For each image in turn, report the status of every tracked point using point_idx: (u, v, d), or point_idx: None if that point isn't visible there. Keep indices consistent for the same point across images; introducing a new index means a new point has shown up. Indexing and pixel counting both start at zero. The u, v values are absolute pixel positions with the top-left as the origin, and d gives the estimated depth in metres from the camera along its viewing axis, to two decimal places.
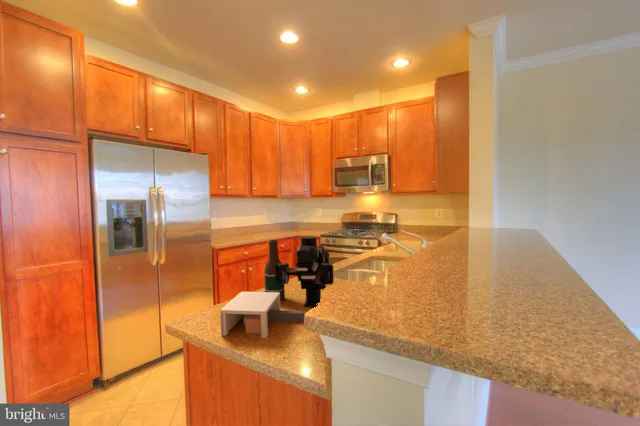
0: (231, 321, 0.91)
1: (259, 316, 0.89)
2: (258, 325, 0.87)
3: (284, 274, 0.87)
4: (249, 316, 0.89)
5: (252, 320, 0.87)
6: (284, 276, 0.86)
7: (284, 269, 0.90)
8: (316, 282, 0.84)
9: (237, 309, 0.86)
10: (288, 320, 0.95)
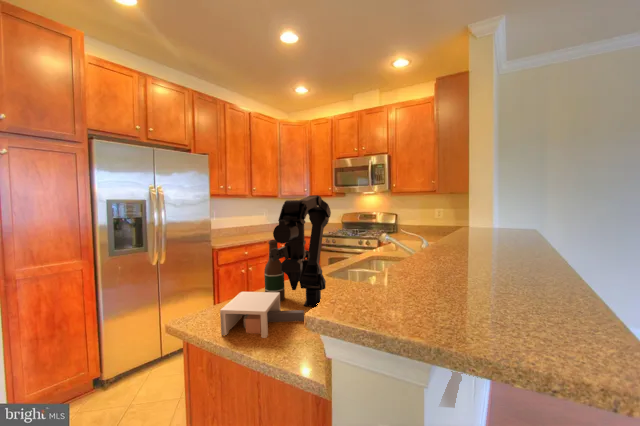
0: (231, 321, 0.91)
1: (259, 316, 0.89)
2: (258, 325, 0.87)
3: None
4: (249, 316, 0.89)
5: (252, 320, 0.87)
6: None
7: None
8: (294, 288, 0.89)
9: (237, 309, 0.86)
10: (288, 320, 0.95)
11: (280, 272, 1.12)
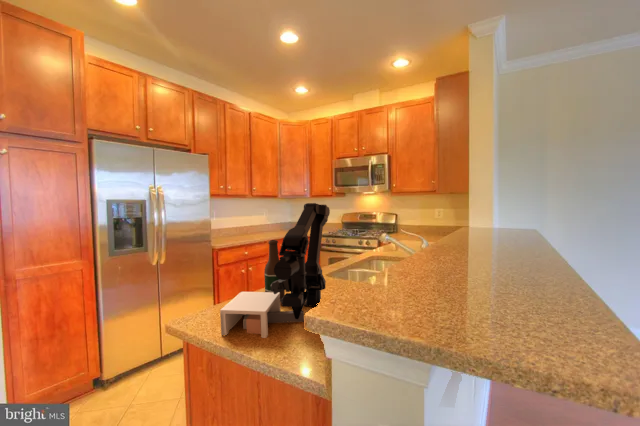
0: (231, 321, 0.91)
1: (260, 316, 0.89)
2: (259, 325, 0.87)
3: None
4: (250, 316, 0.89)
5: (253, 320, 0.87)
6: None
7: None
8: (297, 317, 0.93)
9: (237, 309, 0.86)
10: (288, 320, 0.94)
11: None
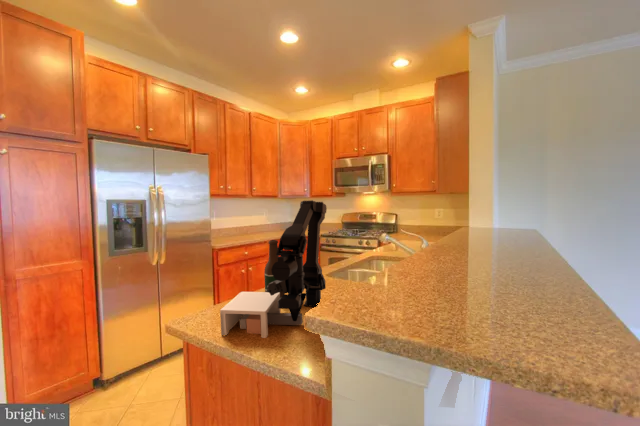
0: (231, 321, 0.91)
1: (260, 316, 0.89)
2: (259, 325, 0.87)
3: None
4: (250, 316, 0.89)
5: (253, 320, 0.87)
6: None
7: None
8: (295, 319, 0.90)
9: (237, 309, 0.86)
10: (286, 323, 0.91)
11: None
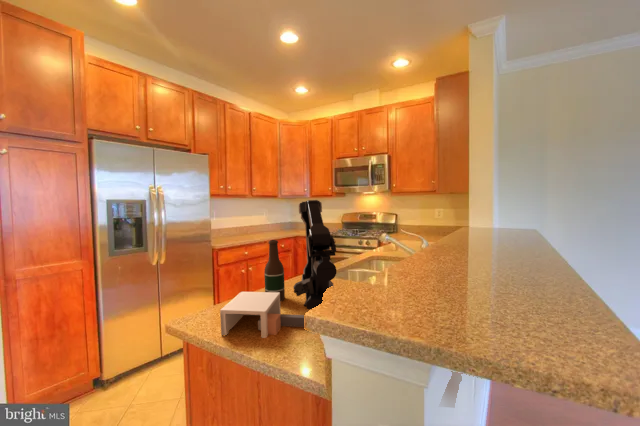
0: (231, 321, 0.91)
1: (275, 317, 0.88)
2: (274, 326, 0.86)
3: None
4: None
5: (268, 320, 0.86)
6: None
7: None
8: None
9: (237, 309, 0.86)
10: None
11: (280, 272, 1.12)
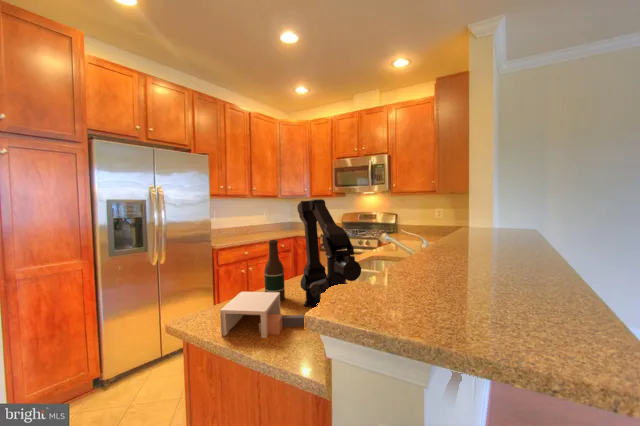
0: (231, 321, 0.91)
1: (278, 317, 0.88)
2: (277, 326, 0.86)
3: None
4: (267, 317, 0.88)
5: (271, 321, 0.86)
6: None
7: None
8: None
9: (237, 309, 0.86)
10: None
11: (280, 272, 1.12)
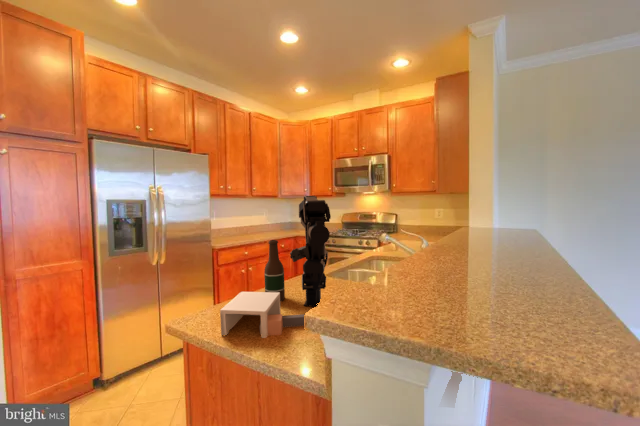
0: (231, 321, 0.91)
1: (279, 317, 0.88)
2: (279, 326, 0.86)
3: None
4: (268, 318, 0.87)
5: (273, 321, 0.86)
6: None
7: None
8: (316, 288, 0.89)
9: (237, 309, 0.86)
10: None
11: (280, 272, 1.12)
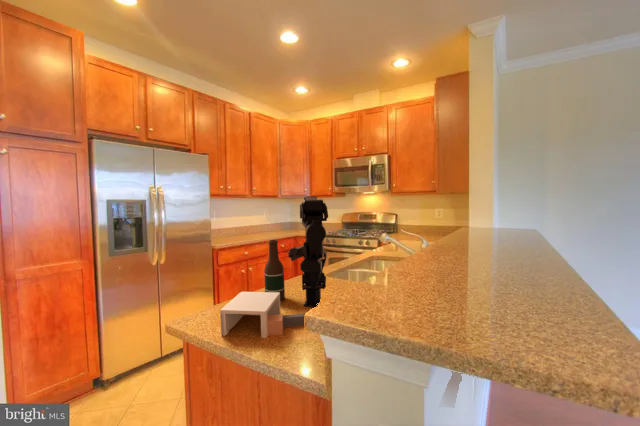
0: (231, 321, 0.91)
1: (279, 317, 0.88)
2: (280, 326, 0.86)
3: None
4: (269, 318, 0.87)
5: (274, 321, 0.86)
6: None
7: None
8: (314, 287, 0.90)
9: (237, 309, 0.86)
10: None
11: (280, 272, 1.12)
